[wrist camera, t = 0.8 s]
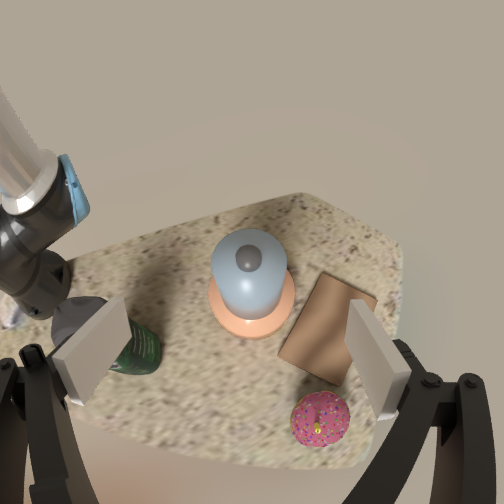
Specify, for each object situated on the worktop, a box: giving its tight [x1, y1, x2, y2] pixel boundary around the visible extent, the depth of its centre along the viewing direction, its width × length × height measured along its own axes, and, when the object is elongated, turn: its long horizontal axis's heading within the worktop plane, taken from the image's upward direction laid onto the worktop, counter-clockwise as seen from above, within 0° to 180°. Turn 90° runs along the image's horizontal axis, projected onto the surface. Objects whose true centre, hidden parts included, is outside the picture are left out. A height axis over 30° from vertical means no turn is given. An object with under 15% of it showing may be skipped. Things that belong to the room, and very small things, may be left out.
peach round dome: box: [208, 269, 295, 340], centre depth 45 cm, size 13×13×5 cm
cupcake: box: [290, 391, 351, 447], centre depth 32 cm, size 9×8×12 cm
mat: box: [277, 273, 378, 387], centre depth 44 cm, size 11×16×1 cm
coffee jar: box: [51, 296, 161, 375], centre depth 35 cm, size 10×8×19 cm
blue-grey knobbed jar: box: [211, 229, 287, 320], centre depth 38 cm, size 9×9×11 cm
